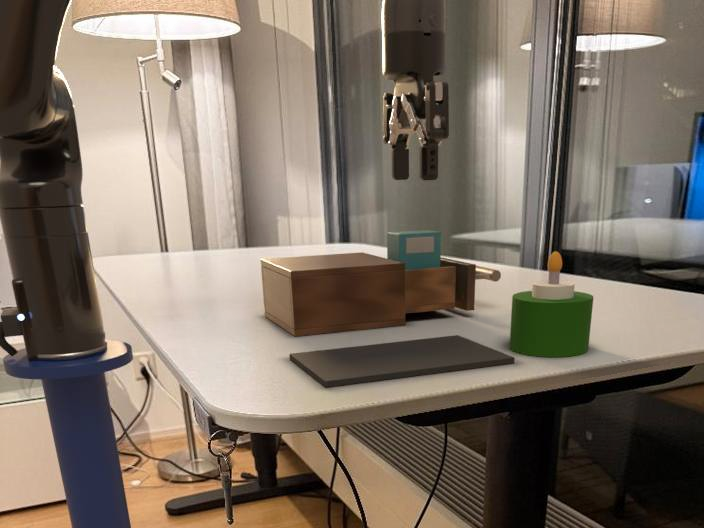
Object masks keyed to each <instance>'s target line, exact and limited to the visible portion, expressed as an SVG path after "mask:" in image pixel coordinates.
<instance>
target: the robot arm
mask: <svg viewBox="0 0 704 528" xmlns="http://www.w3.org/2000/svg"><path fill="white" fill-rule="evenodd" d="M72 1H73V0H0V224H1V230H2V234H3V235H2V236H3V239H4V244H5V248H6V253H7V258H8V264H9V267H10V272H11V277H12V279H11V286H12V291H13V295H14V301H15V304H16V308H5V309H4V308H3V309H2V312H1V314H0V320H1V321H0V348H1V349H2V350H4V351H5V352H6V353H7V354H10V355H11V356H14V355H15V354H16V353H18V351H17V350H18V349H16V348H15V347H14V346H13V345H12V344H10V343H9V342H8V341H7V340H6V338H9V337H21V336H22V338H23V342H24V348H26V352H27V357H28V361H29V362H31V361H67V360H76V359H82V358H87V357H92V356H96V355H99V354H101V353H104V352H105V351H107V350H108V345H107V341H106V340H107V338H106V332H105V327H104V321H103V315H102V309H101V302H100V298H99V297H100V296H99V292H98V290H99V289H98V285H97V279H96V273H95V267H94V262H93V255H92V250H91V244H90V243H91V242H90V237H89V232H88V231H89V230H88V226H87V225H88V224H87V220H86V219H87V218H86V213H85V207H84V205H83V204H84V201H83V196H82V195H83V194H82V184H83V176H84V175H83V174H84V173H83V161H82V153H81V148H80V147H81V145H80V140H79V132H78V125H77V119H76V118H77V117H76V111H75V105H74V102H73V101H74V100H73V98H72V94H71V93H72V92H71V90H70V88H69V85H68V83H67V80H66V79H65V77H64V75H63V73H62V72H61V71H60V69H58V68H57V66H55V64H56V58H57V52H58V46H59V43H60V37H61V32H62V28H63V25H64V22H65V19H66V15H67V12H68V9H69V7H70V5H71V4H72V3H71V2H72ZM381 4H382V5H381V7H382V8H381V40H382V42H381V43H382V47H381V48H382V76H383V77H384V78H385V80H389V81H393V82H394V89H393V90H394V91H393V92H384V94H383V95H382V96H383V99H382V104H383V107H382V108H383V109H382V110H383V111H382V141H383V144H384V145H388V148H389V149H390V150H391V151H390V152H391V153H390V154H391V179H392V180H394V181H407V180H408V179H409V178H410V149H409V146H410V144H411V139H412V136H413V135H414V134H415V133H416V136H417V140H418V142H419V145H420V146H419V148H418V151H419V152H418V153H419V154H418V158H419V161H418V167H419V169H418V173H419V174H418V175H419V176H418V177H419V179H420V180H421V181H436V180H437V179H438V178H439V146H441V145H442V142H443V140H447V139H448V138H449V136H450V114H449V113H450V109H449V107H450V105H449V101H450V99H449V97H450V96H449V83H448V82H447V81H435V79H439V78H441V77H443V76H444V74H445V72H446V20H447V19H446V15H447V13H446V10H447V9H446V0H382V3H381ZM439 126H440V127H439Z"/></svg>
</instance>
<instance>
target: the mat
mask: <svg viewBox="0 0 704 528" xmlns="http://www.w3.org/2000/svg"><path fill="white" fill-rule="evenodd" d="M289 360H290V361H291V362H293V363H294V364H295V365H297V366H298V367H299V368H301V369H302V370H303V371H305V373H307V374H308V376H310V377H312V378H313V379H314V380H316V381H317V382H318V383H319V384H321V385H322V386H323V387H325V388H332V387H338V386H341V387H342V386H348V385H355V384H364V383H370V382H371V383H372V382H379V381H386V380H394V379H401V378H402V379H403V378H409V377H417V376H426V375H433V374H440V373H448V372H456V371H464V370H472V369H473V370H474V369H478V368H487V367H488V368H489V367H497V366H503V365H510V364H511V365H512V364H515V356H512V355H509V354H507V353H504V352H502V351H499V350H496V349H494V348H491V347H489V346H486V345H484V344H481V343H479V342H476V341H473V340H471V339H469V338H466V337H463V336H461V335H458V334H453V335H445V336H438V337H428V338H427V337H426V338H419V339H411V340H409V339H408V340H402V341H391V342H383V343H374V344H367V345H366V344H365V345H355V346H348V347H338V348H337V347H336V348H329V349H328V348H327V349H319V350H312V351H311V350H310V351H301V352H293V353H292V352H291V353H289Z"/></svg>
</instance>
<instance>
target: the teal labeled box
mask: <svg viewBox="0 0 704 528" xmlns="http://www.w3.org/2000/svg"><path fill="white" fill-rule="evenodd" d="M441 251H442V232H441V231H437V230H431V229H430V230H429V229H423V230H422V229H421V230H405V231H403V230H402V231H387V232H386V258H387V259H391V260H395V261H399V262H403V263H405V270H411V269H424V268H437V267H440V258H441Z"/></svg>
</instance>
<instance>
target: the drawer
mask: <svg viewBox="0 0 704 528" xmlns="http://www.w3.org/2000/svg"><path fill="white" fill-rule="evenodd" d="M501 277H502V273H501V271H499V270H498V269H495V268H489V267H484V266H479V265H477V264H476V263H471V262H466V261H460V260H456V259H451V258H446V257H443V256H442V257H441V258H440V267H437V268H424V269H411V270H405V314H413V313H415V314H416V313H425V312H426V313H427V312H435V311H444V310H455V309H460V310H463V311H466V312H468V311H475V301H476V300H475V299H476V298H475V297H476V280H477V281H478V280H487V281H491V282H499V281H500V280H501Z"/></svg>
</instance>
